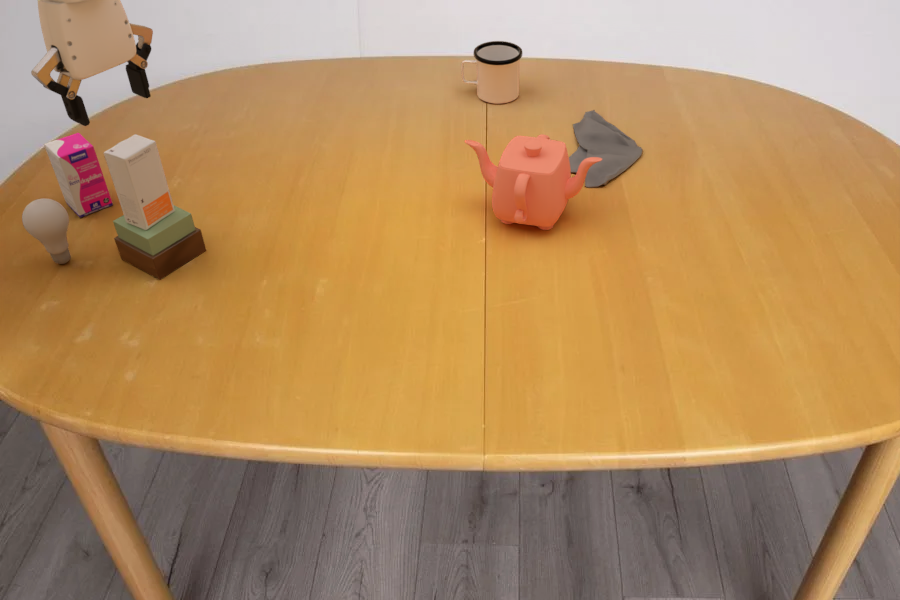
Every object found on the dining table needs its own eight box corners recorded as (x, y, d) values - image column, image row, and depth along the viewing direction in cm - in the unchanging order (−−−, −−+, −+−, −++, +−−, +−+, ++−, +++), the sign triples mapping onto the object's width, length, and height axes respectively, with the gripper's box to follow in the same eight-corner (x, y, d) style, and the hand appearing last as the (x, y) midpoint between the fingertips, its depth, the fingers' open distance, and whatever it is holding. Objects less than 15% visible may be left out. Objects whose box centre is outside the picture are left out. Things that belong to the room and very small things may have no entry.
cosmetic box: (147, 231, 127) (123, 159, 119) (126, 223, 129) (101, 152, 121) (177, 211, 131) (156, 140, 123) (156, 203, 133) (134, 132, 125)
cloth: (634, 193, 147) (636, 181, 146) (554, 183, 150) (554, 172, 148) (648, 119, 166) (649, 108, 165) (576, 112, 168) (577, 101, 167)
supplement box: (80, 219, 142) (56, 157, 134) (66, 204, 145) (41, 143, 137) (115, 205, 145) (93, 144, 137) (99, 191, 148) (77, 130, 140)
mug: (525, 85, 176) (525, 42, 170) (518, 107, 170) (518, 63, 164) (466, 81, 178) (465, 38, 172) (457, 103, 171) (455, 59, 165)
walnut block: (159, 280, 130) (152, 258, 127) (121, 259, 134) (113, 238, 131) (206, 250, 135) (200, 229, 133) (168, 231, 139) (161, 210, 137)
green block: (153, 255, 128) (147, 239, 126) (118, 237, 131) (112, 221, 129) (195, 229, 133) (191, 213, 131) (161, 212, 136) (156, 196, 134)
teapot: (597, 223, 141) (603, 154, 132) (505, 250, 135) (506, 180, 127) (552, 178, 151) (555, 111, 142) (465, 201, 145) (463, 133, 137)
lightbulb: (78, 245, 136) (54, 185, 129) (90, 265, 133) (66, 204, 125) (37, 259, 134) (10, 199, 126) (49, 280, 130) (21, 218, 123)
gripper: (113, -46, 113) (146, 78, 125) (-11, -7, 103) (37, 125, 114) (151, -34, 110) (181, 92, 122) (26, 8, 100) (73, 142, 111)
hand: (112, 108), depth 118 cm, fingers open, 9 cm apart
